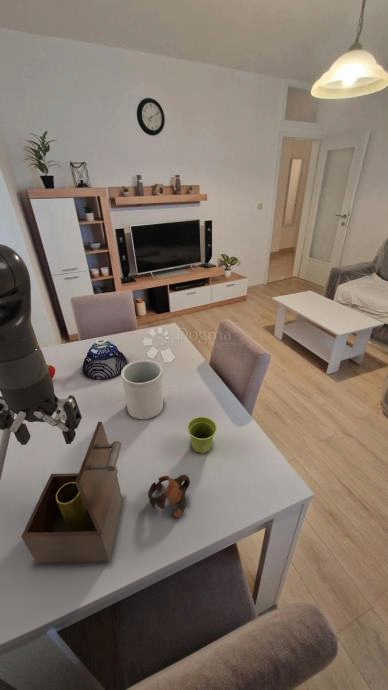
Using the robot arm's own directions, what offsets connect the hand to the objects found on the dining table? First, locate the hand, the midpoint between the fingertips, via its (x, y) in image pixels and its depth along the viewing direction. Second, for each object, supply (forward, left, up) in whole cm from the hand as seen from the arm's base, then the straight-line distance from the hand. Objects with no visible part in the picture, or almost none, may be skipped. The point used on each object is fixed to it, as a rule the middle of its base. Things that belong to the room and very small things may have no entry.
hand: (48, 441), depth 54 cm
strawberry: (-35, +61, -32) cm, 77 cm away
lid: (+8, 0, -11) cm, 14 cm away
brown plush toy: (+22, +7, -32) cm, 40 cm away
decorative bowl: (-13, +72, -32) cm, 80 cm away
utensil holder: (+10, +44, -32) cm, 56 cm away
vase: (0, 0, -32) cm, 32 cm away
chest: (0, 0, -32) cm, 32 cm away
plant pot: (+31, +25, -32) cm, 52 cm away
